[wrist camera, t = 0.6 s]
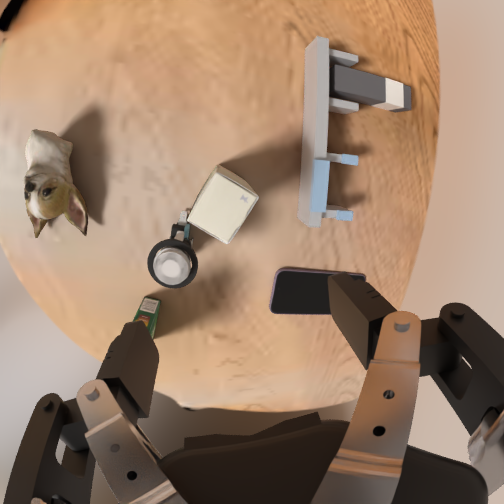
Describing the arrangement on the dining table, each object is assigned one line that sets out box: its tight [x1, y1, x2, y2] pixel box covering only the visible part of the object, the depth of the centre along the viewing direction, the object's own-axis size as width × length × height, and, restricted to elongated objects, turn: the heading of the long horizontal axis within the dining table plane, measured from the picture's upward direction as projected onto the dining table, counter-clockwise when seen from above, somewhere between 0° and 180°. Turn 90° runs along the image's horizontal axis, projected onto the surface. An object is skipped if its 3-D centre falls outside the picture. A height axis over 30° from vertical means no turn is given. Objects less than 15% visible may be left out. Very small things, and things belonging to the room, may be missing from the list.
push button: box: [148, 211, 198, 288], centre depth 32 cm, size 7×5×10 cm
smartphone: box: [269, 268, 366, 315], centre depth 42 cm, size 7×1×15 cm
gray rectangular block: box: [329, 65, 411, 112], centre depth 30 cm, size 12×4×4 cm, turn 87°
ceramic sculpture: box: [23, 129, 88, 238], centre depth 28 cm, size 11×9×15 cm
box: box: [187, 165, 259, 244], centre depth 29 cm, size 5×4×13 cm
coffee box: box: [133, 297, 161, 339], centre depth 34 cm, size 8×3×13 cm, turn 161°
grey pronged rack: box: [297, 36, 359, 227], centre depth 31 cm, size 24×6×6 cm, turn 177°
